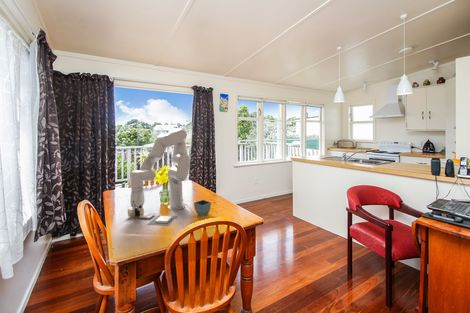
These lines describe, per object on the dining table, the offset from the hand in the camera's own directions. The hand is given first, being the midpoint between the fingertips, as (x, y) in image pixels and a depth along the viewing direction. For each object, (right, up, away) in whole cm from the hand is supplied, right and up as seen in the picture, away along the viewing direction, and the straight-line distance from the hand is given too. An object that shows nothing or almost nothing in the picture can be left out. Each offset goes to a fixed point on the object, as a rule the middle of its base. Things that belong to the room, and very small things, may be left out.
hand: (138, 215), depth 153 cm
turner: (+1, -1, 0) cm, 2 cm away
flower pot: (+43, -1, +5) cm, 43 cm away
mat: (+18, -2, -6) cm, 19 cm away
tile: (+15, -1, -6) cm, 16 cm away
